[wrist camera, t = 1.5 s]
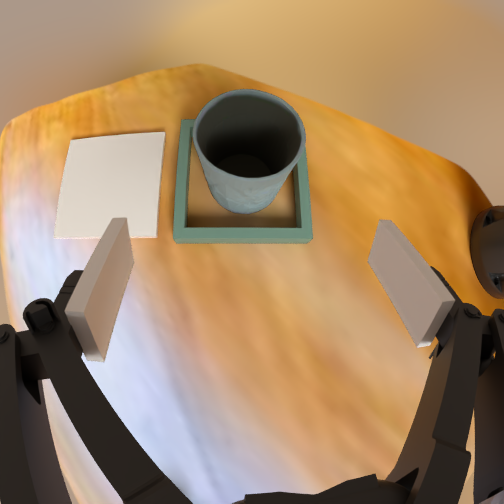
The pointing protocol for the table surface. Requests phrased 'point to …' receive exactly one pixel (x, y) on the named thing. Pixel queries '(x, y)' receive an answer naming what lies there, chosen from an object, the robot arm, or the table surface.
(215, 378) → the table surface
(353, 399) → the table surface
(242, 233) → the square holder
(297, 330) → the table surface
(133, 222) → the ceramic tile
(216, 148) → the grey-green cup
